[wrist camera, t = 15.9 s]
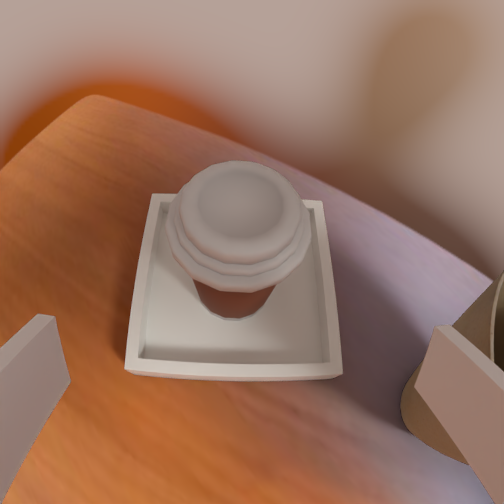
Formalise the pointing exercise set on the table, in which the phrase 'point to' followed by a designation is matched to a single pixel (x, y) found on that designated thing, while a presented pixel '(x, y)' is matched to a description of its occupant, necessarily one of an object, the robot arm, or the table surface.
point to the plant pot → (481, 336)
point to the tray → (227, 331)
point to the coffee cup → (237, 235)
